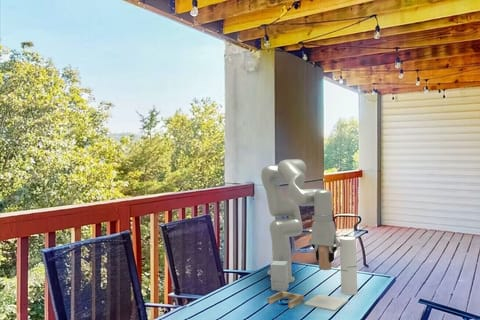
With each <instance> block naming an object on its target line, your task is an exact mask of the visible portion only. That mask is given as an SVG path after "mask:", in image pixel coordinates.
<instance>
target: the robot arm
mask: <svg viewBox="0 0 480 320" xmlns="http://www.w3.org/2000/svg"><path fill="white" fill-rule="evenodd" d="M306 172H307V164H306V163H305V161H303V160H302V159H299V158H298V159H294V158H293V159H284V160H280V162H278V163H277V164H269V165H266V166H264V167H262V170H261V174H260V175H261V182H262V186H263V187H264V191H265V192H266V193H265V194H266V200H267V204H268V210H269V213H270V216H272V217H275V218H276V217H277V218H278V217H288V218H279V219H277V218H276V219H274V220H273V221H271V222H270V225H269V232H270V238H271V247H272V249H271V250H272V262H273V261H288V278H289V284H291V283H293V282H295V280H296V279H295V277H294V276H293V275H292V274H293V273H292V257H291V256H292V253H291V243H290V242H289V241H288V239H287V238H289V237H297V236H300V235H301V234H302V233H303V221H302V216H301V211H300V207H308V206H311V207H312V206H313V207H314V208H313V209H314V214H313V215H311V218H312V219H314V221H312V226H311V234H310V235H311V238H310V239H309V241H308V244H309V245H310V246H311V247H312V249H313V250H314V251H315V260H316V261H318V262H319V250H318V245H320V246H328V247H329V250H330V253H329V262H331V263H333V262H334V260H335V252H336V251H337V250H338V249H340V246H341V244H340V240H338V239H337V230H336V229H337V228H336V225H335V221H333V220H334V219H333V196H332V192H331V190H329V189H322V188H305V189H301V187H302V186H303V185H304V183H305V181H306V176H305V174H306ZM276 181H278V182H280V181H286V182H287V184H288V186H287V193H288V195H289V196H288V197H284V194H283V190H282V188H281V186H280V185H279V184H278V183H277V182H276ZM266 274H267V275H269V276H271V269H268V270H267V273H266ZM269 280H271V277H270V279H269Z"/></svg>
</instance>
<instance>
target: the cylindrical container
mask: <svg viewBox="0 0 480 320" xmlns="http://www.w3.org/2000/svg"><path fill="white" fill-rule="evenodd" d="M339 242H340V244H341V246H340V247H339V258H340V259H339V263H340V264H339V265H340V285H341V286H340V287H341V288H340V290H341V294H343V295H345V296H355V295H357V294H358V276H357V275H358V273H357V272H358V271H357V269H358V268H357V243H356V242H357V241H356V237H353V236H342V237H339Z"/></svg>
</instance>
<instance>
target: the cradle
mask: <svg viewBox="0 0 480 320" xmlns="http://www.w3.org/2000/svg"><path fill="white" fill-rule="evenodd" d="M281 299H287V300H289V301H288V302H287V305H288V309H291V310H292V309H293V308H295V307H296V306H298V305H300V304H301V303H304V295H303V294H297V293H293V292H290V291H289V292H288V291H277V292H276V293H274V294H273V295H271V296H269V297H267V304H269V305H273V303H275V302H277V301H278V300H281Z"/></svg>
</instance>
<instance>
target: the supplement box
mask: <svg viewBox="0 0 480 320" xmlns="http://www.w3.org/2000/svg"><path fill="white" fill-rule="evenodd" d="M269 266H270V270H271V275H270V278H271V281H270V287H271V291H275V290H276V291H277V292H280V291H284V292H287V290H288V289H289V287H290V285H289V284H290V283H289V278H288V261H273V260H272V262H271V263H270V264H269Z"/></svg>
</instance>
